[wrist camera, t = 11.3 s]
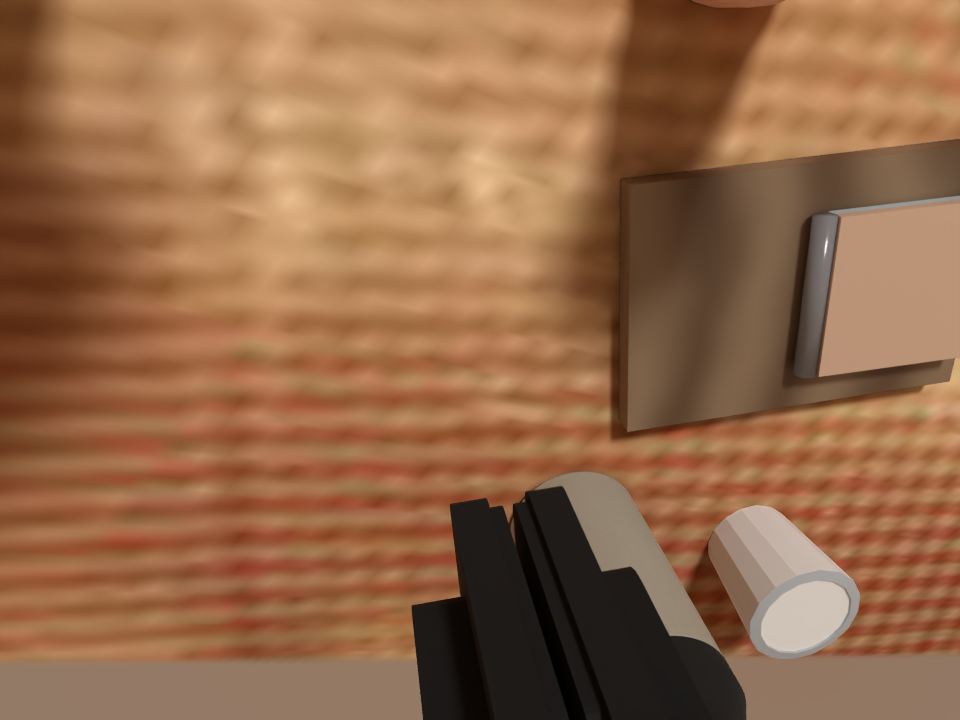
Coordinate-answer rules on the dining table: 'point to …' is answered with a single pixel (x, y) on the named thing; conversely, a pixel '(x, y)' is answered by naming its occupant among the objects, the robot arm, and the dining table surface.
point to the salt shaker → (737, 3)
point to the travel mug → (651, 582)
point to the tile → (880, 288)
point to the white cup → (781, 583)
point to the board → (746, 280)
